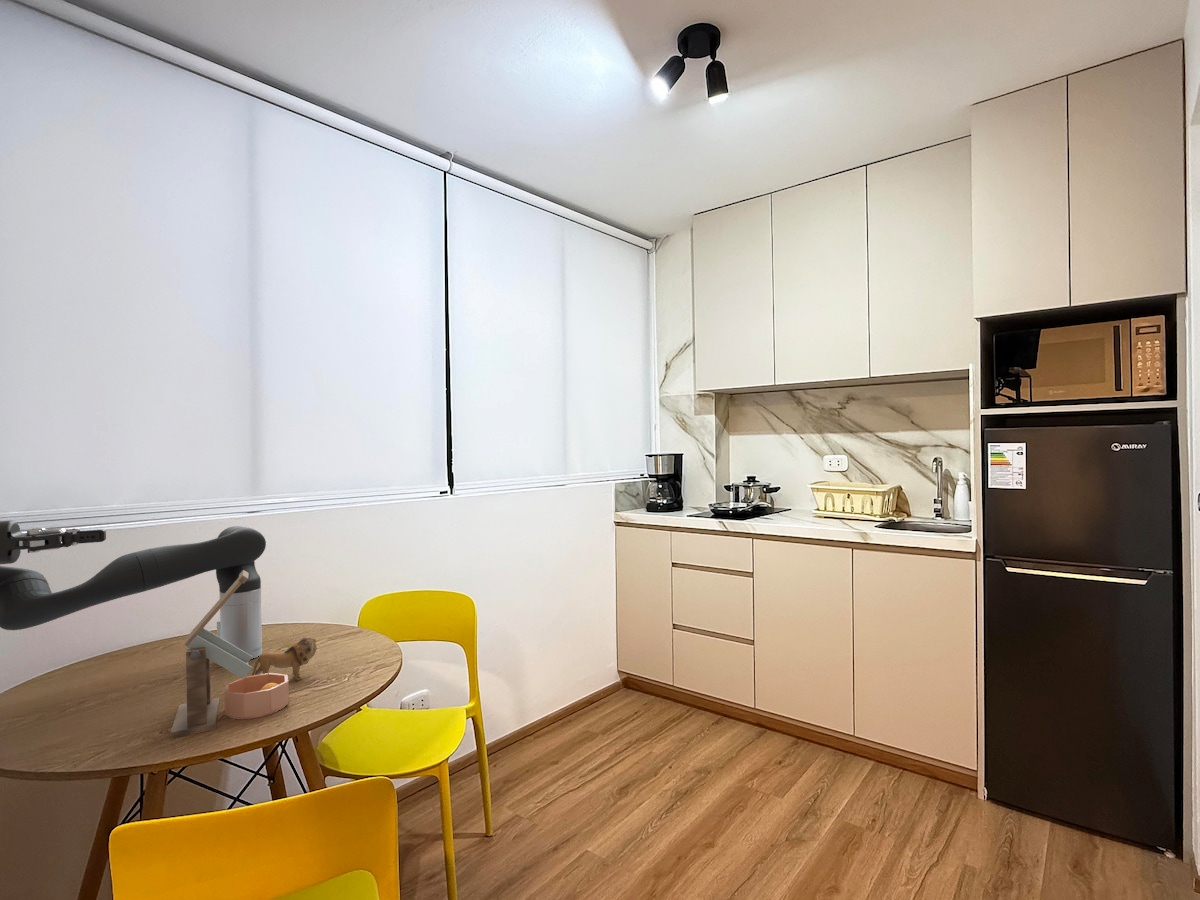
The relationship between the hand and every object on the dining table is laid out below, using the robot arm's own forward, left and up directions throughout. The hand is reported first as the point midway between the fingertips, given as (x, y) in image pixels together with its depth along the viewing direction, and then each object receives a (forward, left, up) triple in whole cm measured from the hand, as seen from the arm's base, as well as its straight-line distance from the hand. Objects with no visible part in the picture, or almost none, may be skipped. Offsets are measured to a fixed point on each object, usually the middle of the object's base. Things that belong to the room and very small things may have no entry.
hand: (104, 535), depth 118 cm
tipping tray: (+13, +11, -25) cm, 31 cm away
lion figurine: (+12, +32, -37) cm, 50 cm away
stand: (+11, +9, -37) cm, 40 cm away
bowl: (+18, +16, -37) cm, 44 cm away
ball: (+20, +18, -35) cm, 44 cm away
